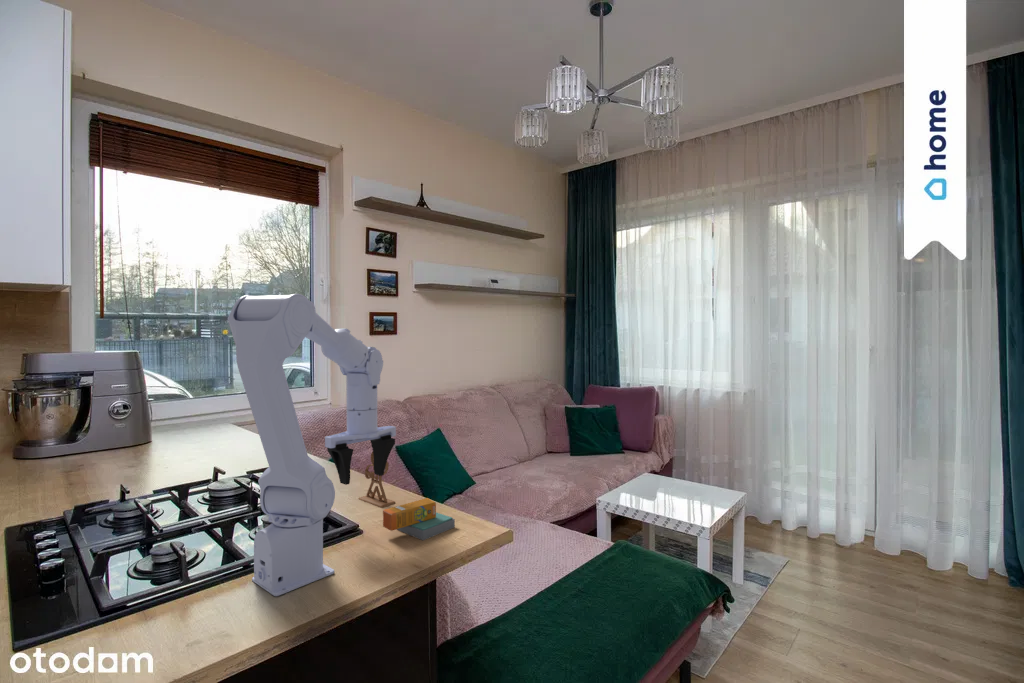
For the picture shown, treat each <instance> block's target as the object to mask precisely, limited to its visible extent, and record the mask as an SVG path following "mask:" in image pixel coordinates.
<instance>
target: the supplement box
mask: <svg viewBox="0 0 1024 683" xmlns="http://www.w3.org/2000/svg"><path fill="white" fill-rule="evenodd" d="M436 512H437V502H436V501H434V500H432V499H430V498H428V497H426V498H422V499H418V500H415V501H411V502H407V503H403V504H400V505H397V506H392V507H388V508H385V509H383V510H382V518H383V520H382V527H384V528H385V529H386V530H388V531H392V532H393V531H395V530H397V529H399V528H403V527H406V526H410V525H413V524H416V523H419V522H423V521H426V520H429V519H433V518H436Z"/></svg>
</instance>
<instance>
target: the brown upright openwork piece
mask: <svg viewBox="0 0 1024 683" xmlns="http://www.w3.org/2000/svg"><path fill="white" fill-rule="evenodd" d="M370 463H371V464H368V465H366V467H365V470H364V477H365V479H367V480H369V479H371V480H370V481H371V482H370V484H369V487H368V490H367V493H366V495H364V496H360V497H358V500H360V501H362V502H364V503H367V504H369V505H372V506H374V507H378V508H381V509H383V508H386V507H389V506H392V505H395V504H396V501H395V500H392V499H388V498H387V495H386V493H385V490H384V489H385V488H384V486H383V483H382V482H383V481H382V480H383V478H382V477H383V476H385V475H386V474H387V473H388V471H389V466H390V465H389V462H388V461H387V463H386V466H385V470H384V475H382V476H379V475H376V474H375V473H374V456H373V451H371V453H370ZM370 467H372V469H373V471H369V468H370ZM374 484H377V485H375V487H374V489H373V486H374ZM378 485H379V486H378ZM372 489H373V490H372Z"/></svg>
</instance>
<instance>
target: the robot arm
mask: <svg viewBox="0 0 1024 683" xmlns="http://www.w3.org/2000/svg"><path fill="white" fill-rule="evenodd" d="M227 322H228V325H229V328H230V331H231V335H232V338H233V341H234V344H235V350H236V352H235V353H236V363H237V364H236V365H237V369H238V372H239V375H240V378H241V381H242V385H243V387H244V392H245V395H246V399H247V401H248V404H249V406H250V410H251V413H252V416H253V419H254V422H255V426H256V429H257V431H258V434H259V438H260V441H261V445H262V448H263V451H264V454H265V457H266V458H265V459H266V461H267V464H268V467H267V468H266V469H265V470H264V471H263V472H262V474H261V475H260V476H259V478H258V480H257V481H258V485H259V490H260V494H259V496H260V497H259V505H260V508H261V510H262V512H263V513H264V514H265V515H267V516H268V522H269V523H270V525H268V526H266V527H264V528H262V529H260V530H258V531H256V532H255V534H254V539H253V576H252V578H251V581H252V582H253V583H255V584H257V586H259V587H261V588H262V589H263V590H265V591H266V592H267V593H269V594H270V595H272V596H274V597H279V596H282V595H284V594H286V593H289V592H291V591H294V590H296V589H298V588H301V587H304V586H307V585H308V584H311V583H314V582H316V581H318V580H321V579H324V578H326V577H328V576H332V575H333V574H335V569H334V568H332V567H330V566H328V565H326V564H325V563H324V529H323V528H324V522H323V521H324V518H326V517H327V516H328V514H329V513H330V512H331V510H332V508H333V506H334V503H335V498H336V490H335V486H334V483H333V481H332V479H330V478H329V477H328V475H327V473H326V469H325V468H326V467H324V466H322V465H321V464H320V463H319V462H317V461H315V459H313V458H312V457H310V456H309V455H308V454H309V453H308V452H307V448H306V444H305V441H304V438H303V433H302V429H301V427H300V423H299V419H298V414H297V412H296V409H295V405H294V402H293V397H292V394H291V391H290V387H289V384H288V381H287V380H288V379H287V377H286V374H285V369H284V362H285V360H286V359H288V358H289V357H291V356H293V355H294V354H295V352H296V351H297V349H298V348H299V346H300V345H301V344H302V343H303V341H304V340H305V338H306V339H307V340H310V341H312V342H314V343H315V344H317V345H319V346H320V349H321V352H322V354H323V356H324V357H326V358H327V359H329V360H330V361H331V362H333V363H335V364H336V365H338V367H339V369H340V372H341V374H342V375H343V376H346V377H345V378H346V382H345V383H346V431H342V432H340V433H339V432H338V433H335V434H331V435H327V436H324V447H325V448H326V450H327V452H328V454H329V456H330V458H332V459H331V460H332V461H333V463H334V466H335V468H336V472H337V475H338V478H339V482H340V483H339V484H342V485H345V486H347V485H350V483H351V463H352V457H353V453H354V449H353V448H350V447H349V446H348V445H352V444H356V443H362V442H367V441H368V442H369V441H370V444H371V448H372V452H373V456H374V470H373V472H374V475H375V476H376V475H378V477H379V476H382V477H383V476H385V475H384V472H385V466H386V463H387V462H388V458H390V457H389V456H390V454H391V451H392V449H393V448H394V447H395V444H396V438H394V437H396V436H397V427H396V426H393V425H387V426H379V427H378V385H380V382H381V373H382V371H383V368H384V360H383V356H382V352H381V351H380V350H379V349H377V347H374V346H367V345H366V344H364V343H363V341H362V340H361V339H358V338H356V337H355V336H354V335H353V334H351V330H350V329H349V328H335V329H334V327H333V326H331V325H330V324H329V323H328V321H326V320H325V319H324V318H323V317H322V316H320V315H319V314H318V313H317V311H316V305H315V303H314V302H313V301H311V300H310V299H308V297H307V296H305V295H303V294H302V293H292V294H283V295H281V294H278V295H277V294H276V295H275V294H274V295H251V294H246V295H243V296H241V297H239V298H238V299H237V300H236V301H235V303H234V305H233V307H232V308H231V310H230V312H229V314H228V316H227Z"/></svg>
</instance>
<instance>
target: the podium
mask: <svg viewBox="0 0 1024 683" xmlns="http://www.w3.org/2000/svg"><path fill="white" fill-rule="evenodd" d="M455 521H456V520H455V518H453V517H451V516H448V515H446V514H443V513H440V512H437V511H436V518H433V519H429V520H426V521H423V522H419V523H416V524H413V525H410V526H406V527H403V528H399V529H396V530H397V531H399V532H402V533H404V534H406V535H409V536H412V537H414V538H417V539H419V540H421V541H425V540H427V539H430V538H432V537H435V536H437V535H439V534H442V533H444V532H446V531H450V530H451V529H454V528H455V527H456V525H455V524H456V523H455Z"/></svg>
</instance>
